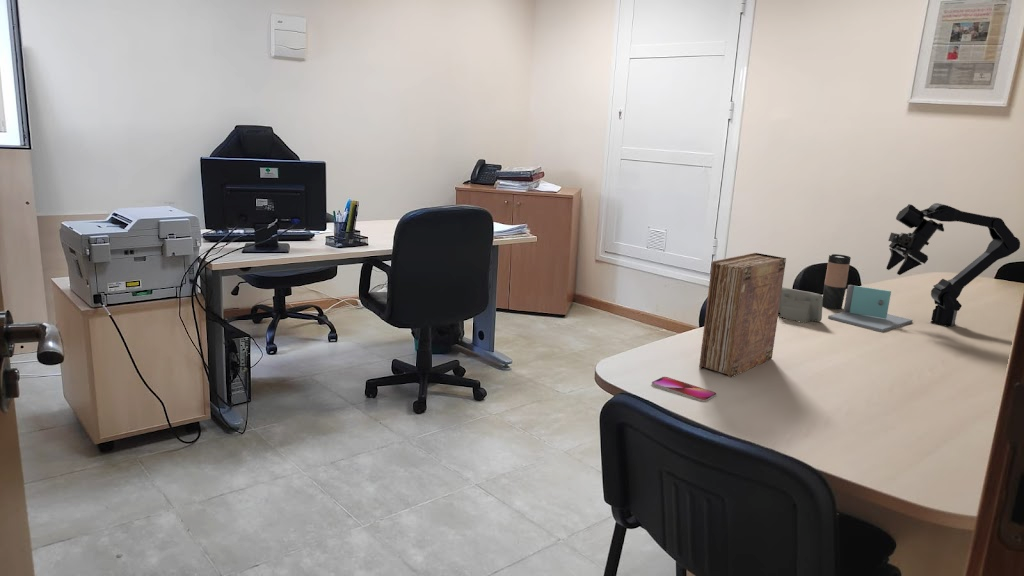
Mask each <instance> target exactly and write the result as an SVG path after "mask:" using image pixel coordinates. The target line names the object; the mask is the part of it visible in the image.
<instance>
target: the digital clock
mask: <svg viewBox="0 0 1024 576" xmlns="http://www.w3.org/2000/svg"><path fill="white" fill-rule="evenodd" d="M822 302H823V294H820V293H815V292H811V291H805V290H799V289H796V288H794V289H793V288H790V287H789V288H787V287H783V286H782V291H781V298H780V305H779V312H778V313H780V314H779V315H780V317H783V318H782V319H784V318H787V319H786V320H788V319H791V320H790V321H793V320H796V321H795V322H798V321H800V322H799V323H802V322H804V324H806V322H807V323H808V322H810V321H812V322H816V323H817V322H821V321H822V318H823V306H822ZM780 317H779V318H780ZM809 320H810V321H809Z"/></svg>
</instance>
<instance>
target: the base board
mask: <svg viewBox="0 0 1024 576" xmlns="http://www.w3.org/2000/svg"><path fill="white" fill-rule="evenodd" d="M827 319H829V320H833V321H836V322H841V323H845V324H849V325H853V326H857V327H861V328H865V329H869V330H872V331H876V332H879V333H883V332H887V331H889V330H892V329H896V328H899V327H903V326H906V325H909V324H911V323H913V319H911V318H910V319H909V318H907V317H903V316H899V315H894V314H890V313H887V318H886V319H885V318H879V317H873V316H867V315H861V314H855V313H847V312H844V310H841V311H840V312H838V313H833V314H829V315H828V317H827Z"/></svg>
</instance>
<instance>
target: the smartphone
mask: <svg viewBox="0 0 1024 576" xmlns="http://www.w3.org/2000/svg"><path fill="white" fill-rule="evenodd" d="M651 387H653V388H657V389H661V390H664V391H668V392H670V393H673V394H676V395H679V396H683V397H686V398H690V399H692V400H695V401H698V402H705V403H706V402H708V401H710V400H711V399H713V398H715V397H716V396H717V392H715V391H712V390H709V389H706V388H702V387H700V386H696V385H693V384H690V383H687V382H684V381H681V380H677V379H675V378H671V377H668V376H662V377H660V378H658V379H656V380H654V381H652V382H651Z"/></svg>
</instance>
